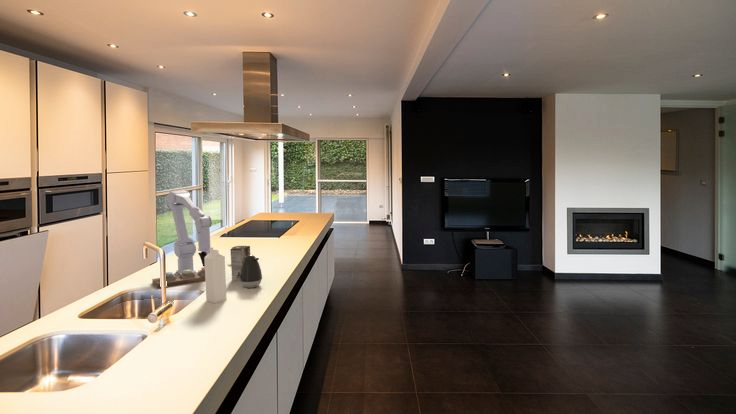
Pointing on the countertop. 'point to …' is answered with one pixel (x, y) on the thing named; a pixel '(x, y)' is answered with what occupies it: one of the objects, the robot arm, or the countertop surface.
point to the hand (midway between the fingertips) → (205, 266)
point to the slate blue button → (169, 274)
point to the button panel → (181, 279)
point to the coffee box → (238, 260)
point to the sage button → (187, 272)
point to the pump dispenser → (250, 272)
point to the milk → (215, 277)
